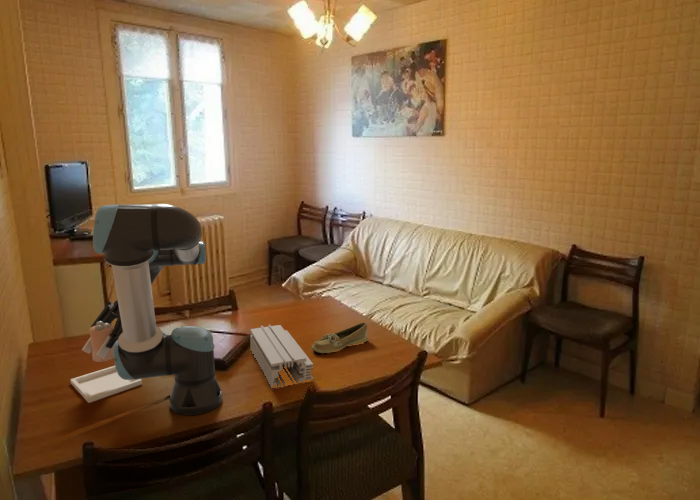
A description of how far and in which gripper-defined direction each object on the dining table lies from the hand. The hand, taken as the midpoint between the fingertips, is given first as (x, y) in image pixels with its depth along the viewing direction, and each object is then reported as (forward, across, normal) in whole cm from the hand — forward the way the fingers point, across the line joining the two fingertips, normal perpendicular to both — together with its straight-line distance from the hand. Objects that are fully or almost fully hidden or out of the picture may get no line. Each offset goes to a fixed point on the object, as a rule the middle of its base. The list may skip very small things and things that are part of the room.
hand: (92, 354), depth 149 cm
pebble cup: (-1, 0, -4) cm, 4 cm away
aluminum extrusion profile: (-22, -38, -41) cm, 60 cm away
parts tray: (+6, 0, -11) cm, 13 cm away
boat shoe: (-40, -48, -58) cm, 86 cm away
